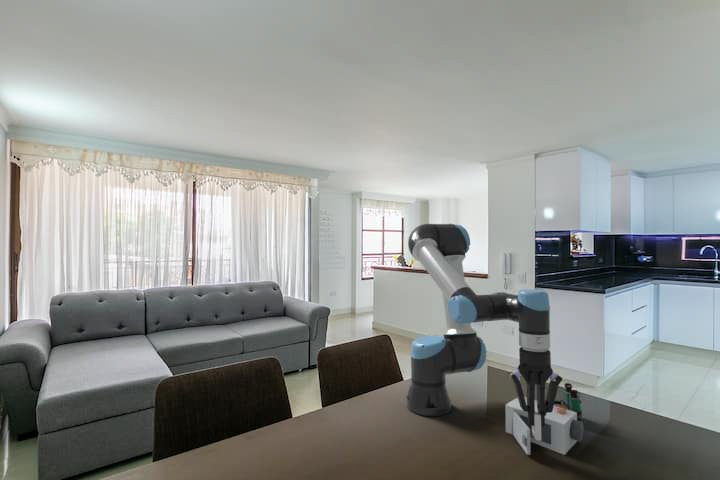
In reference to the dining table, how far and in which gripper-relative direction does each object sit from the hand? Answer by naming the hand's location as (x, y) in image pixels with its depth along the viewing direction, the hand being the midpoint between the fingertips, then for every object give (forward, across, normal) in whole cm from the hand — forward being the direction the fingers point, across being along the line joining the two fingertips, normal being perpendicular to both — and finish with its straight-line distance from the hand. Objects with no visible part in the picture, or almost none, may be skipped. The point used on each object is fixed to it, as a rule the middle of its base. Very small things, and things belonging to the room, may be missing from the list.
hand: (536, 437), depth 96 cm
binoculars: (+4, +15, +21) cm, 26 cm away
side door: (+3, -3, +3) cm, 6 cm away
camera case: (+4, +4, +10) cm, 11 cm away
